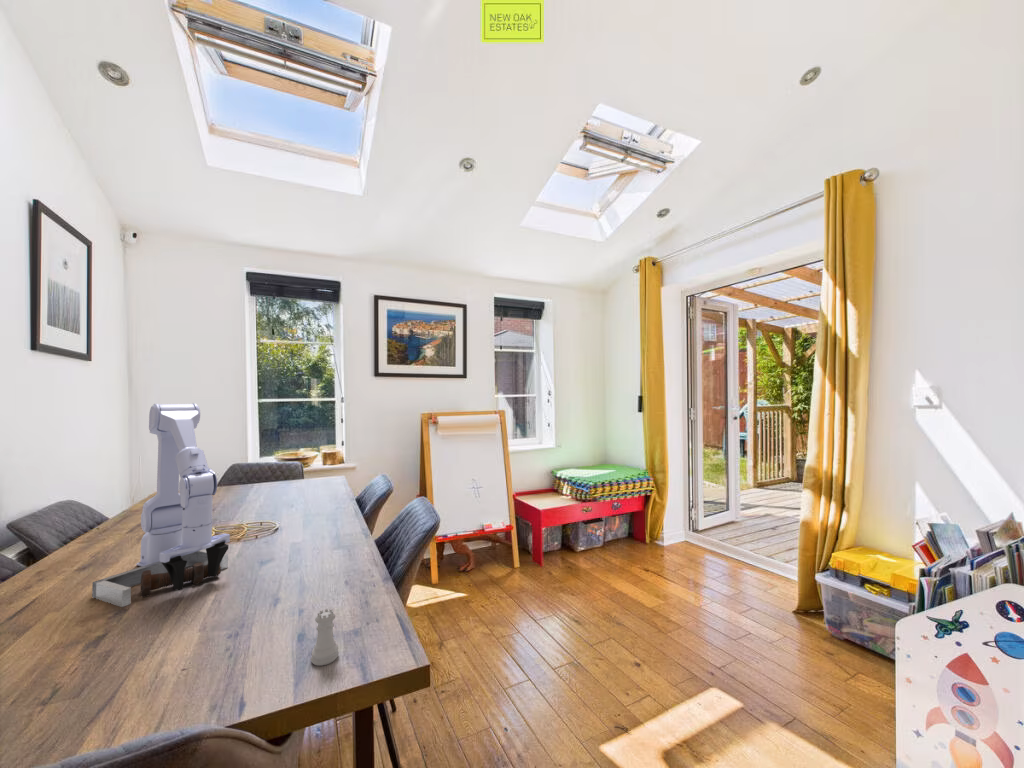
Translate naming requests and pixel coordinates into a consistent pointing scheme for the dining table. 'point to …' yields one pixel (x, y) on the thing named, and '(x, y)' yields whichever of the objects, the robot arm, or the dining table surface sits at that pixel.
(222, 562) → the keeper
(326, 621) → the rook chess piece
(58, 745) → the dining table surface
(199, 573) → the bolt
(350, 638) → the dining table surface
